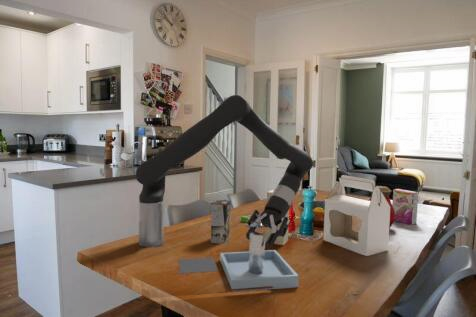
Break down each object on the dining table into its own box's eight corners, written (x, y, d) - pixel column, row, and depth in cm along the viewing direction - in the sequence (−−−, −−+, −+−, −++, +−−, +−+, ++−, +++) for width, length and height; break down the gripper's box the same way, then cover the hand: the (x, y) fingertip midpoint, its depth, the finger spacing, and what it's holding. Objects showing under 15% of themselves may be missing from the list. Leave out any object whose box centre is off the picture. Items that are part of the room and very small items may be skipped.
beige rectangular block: (289, 240, 145) (290, 191, 143) (283, 245, 138) (285, 194, 136) (271, 237, 148) (272, 189, 146) (265, 242, 141) (266, 192, 140)
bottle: (360, 229, 163) (362, 187, 161) (361, 222, 175) (363, 183, 173) (396, 233, 157) (399, 190, 155) (395, 226, 169) (397, 186, 167)
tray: (231, 292, 97) (231, 280, 97) (219, 262, 119) (220, 253, 119) (298, 287, 101) (298, 275, 101) (275, 259, 123) (275, 249, 123)
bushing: (250, 274, 107) (252, 236, 106) (246, 268, 112) (248, 231, 111) (265, 273, 108) (267, 236, 107) (261, 267, 113) (263, 231, 112)
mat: (179, 276, 107) (179, 273, 107) (178, 262, 119) (178, 259, 119) (218, 274, 110) (218, 271, 110) (213, 260, 121) (213, 257, 121)
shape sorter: (282, 213, 194) (282, 205, 193) (307, 221, 178) (307, 212, 178) (233, 221, 175) (233, 212, 174) (255, 231, 159) (255, 221, 159)
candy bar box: (390, 220, 181) (392, 189, 180) (396, 219, 184) (397, 188, 182) (411, 225, 172) (413, 192, 170) (416, 223, 174) (418, 191, 173)
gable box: (322, 240, 146) (325, 174, 144) (343, 235, 153) (346, 173, 151) (367, 256, 127) (370, 182, 125) (388, 250, 134) (392, 179, 132)
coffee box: (225, 244, 138) (226, 205, 137) (210, 243, 139) (210, 204, 138) (230, 237, 147) (231, 200, 146) (216, 236, 148) (216, 199, 147)
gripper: (259, 191, 120) (236, 230, 112) (293, 197, 110) (270, 240, 103) (268, 204, 124) (246, 242, 117) (302, 211, 114) (280, 253, 107)
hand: (257, 241), depth 110 cm, fingers open, 8 cm apart
